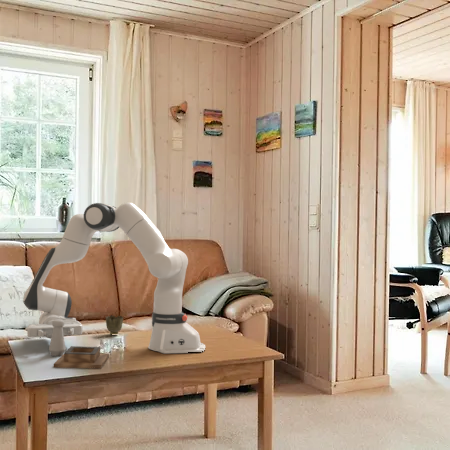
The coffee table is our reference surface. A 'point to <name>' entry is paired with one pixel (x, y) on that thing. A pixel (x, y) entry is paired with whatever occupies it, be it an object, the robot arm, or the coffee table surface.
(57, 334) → the salt shaker
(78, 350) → the stepped wooden plinth
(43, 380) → the coffee table surface
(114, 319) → the cup
